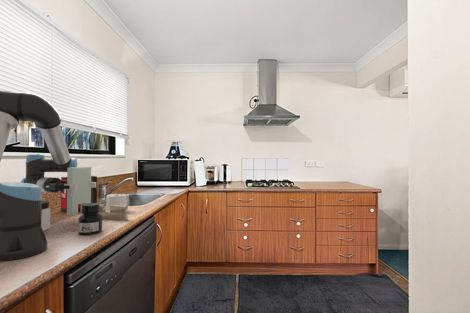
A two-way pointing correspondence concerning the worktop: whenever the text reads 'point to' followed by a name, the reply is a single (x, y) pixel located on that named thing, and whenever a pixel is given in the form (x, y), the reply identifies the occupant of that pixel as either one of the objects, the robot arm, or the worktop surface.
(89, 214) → the ink bottle
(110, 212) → the slotted rail
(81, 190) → the pale green panel
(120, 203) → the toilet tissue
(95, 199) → the cleaning product box
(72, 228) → the worktop surface
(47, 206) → the jar
